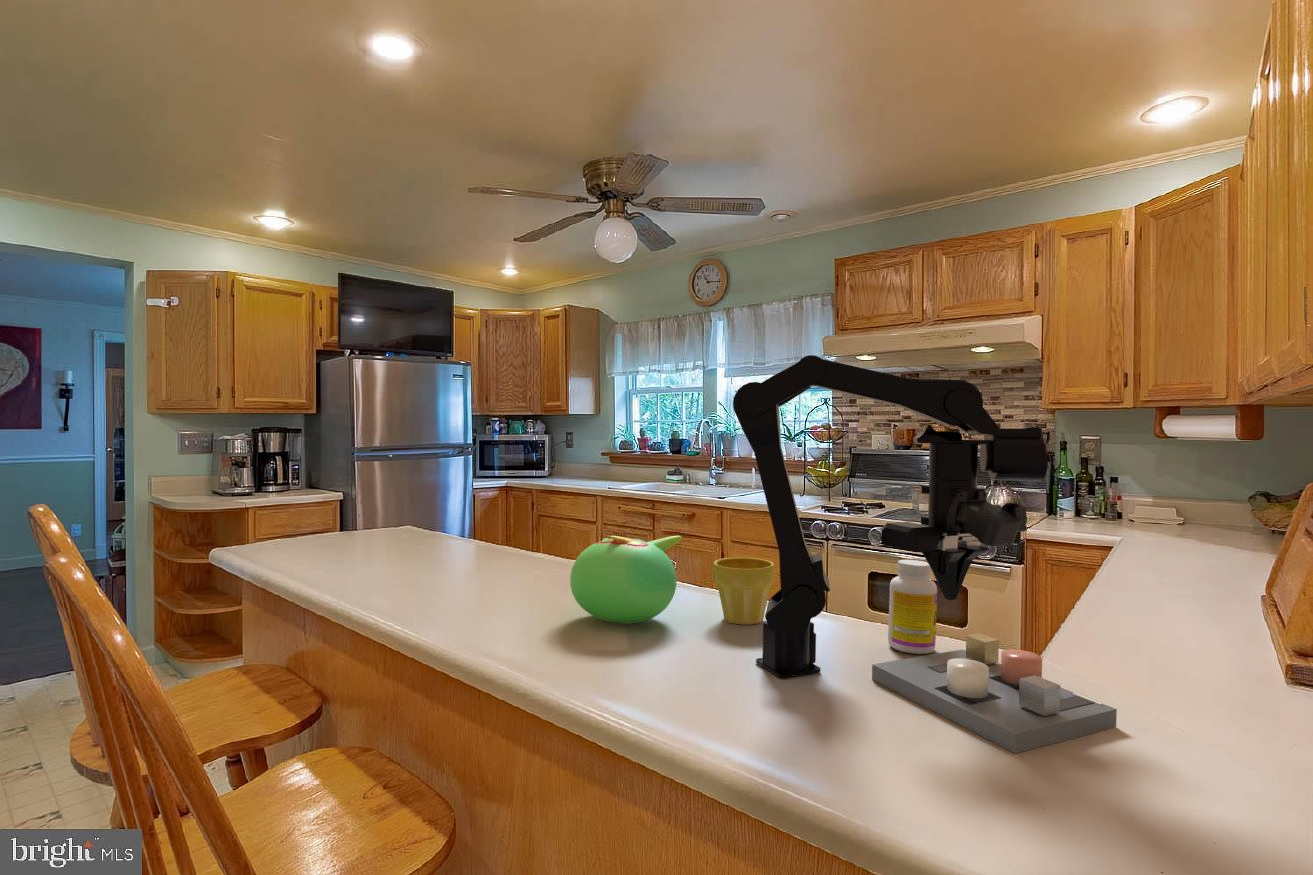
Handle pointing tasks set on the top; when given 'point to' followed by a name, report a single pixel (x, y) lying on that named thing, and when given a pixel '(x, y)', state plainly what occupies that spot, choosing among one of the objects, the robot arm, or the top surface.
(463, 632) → the top surface
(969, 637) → the brushed gold cube
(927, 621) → the supplement bottle
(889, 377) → the robot arm
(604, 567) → the toy bird
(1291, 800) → the top surface
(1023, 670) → the button rust
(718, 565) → the plant pot
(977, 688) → the button ivory
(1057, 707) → the lever grey
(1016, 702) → the panel
